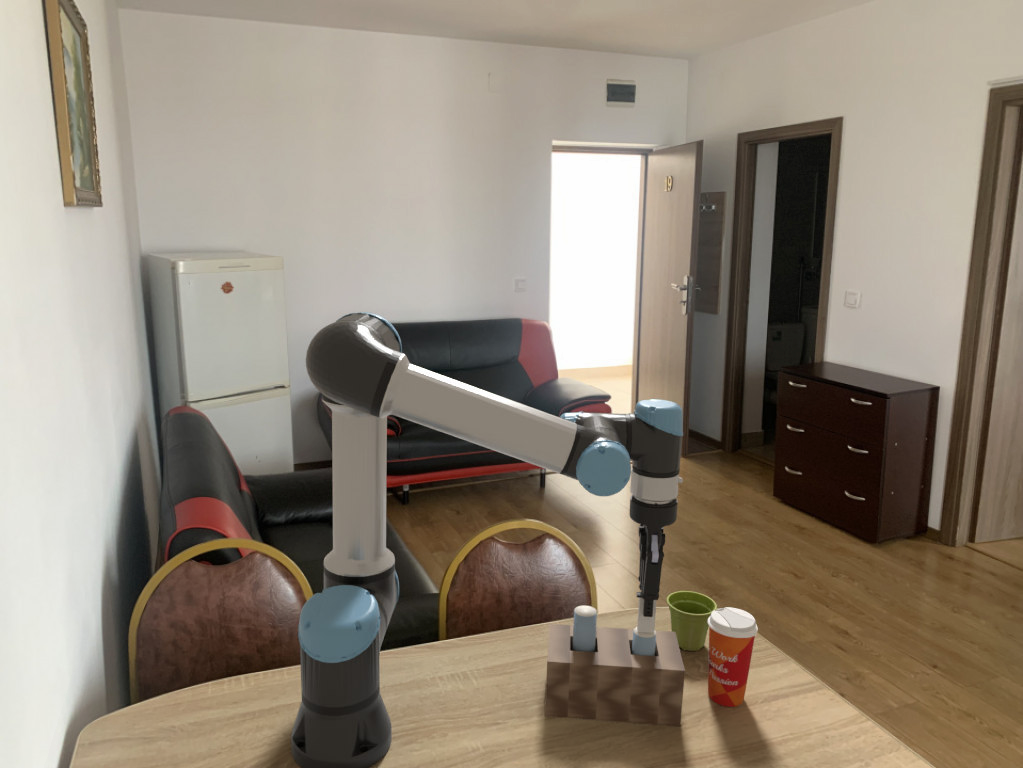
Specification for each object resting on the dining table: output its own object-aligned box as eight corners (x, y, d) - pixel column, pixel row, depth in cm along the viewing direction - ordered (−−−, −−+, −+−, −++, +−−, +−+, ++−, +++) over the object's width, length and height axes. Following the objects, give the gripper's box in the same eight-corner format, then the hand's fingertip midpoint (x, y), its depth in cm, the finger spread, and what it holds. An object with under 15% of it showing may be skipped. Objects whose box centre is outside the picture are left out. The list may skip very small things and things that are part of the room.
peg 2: (630, 691, 130) (634, 636, 128) (629, 678, 133) (632, 625, 131) (653, 693, 129) (657, 638, 127) (651, 679, 133) (655, 626, 131)
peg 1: (571, 670, 130) (574, 615, 128) (571, 658, 134) (574, 604, 131) (594, 672, 130) (597, 617, 127) (593, 659, 133) (596, 606, 131)
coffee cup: (691, 689, 136) (698, 611, 133) (727, 678, 139) (734, 601, 136) (724, 717, 128) (732, 634, 125) (761, 704, 132) (770, 623, 129)
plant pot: (704, 630, 156) (707, 590, 154) (719, 656, 147) (723, 614, 145) (658, 630, 155) (661, 590, 153) (670, 656, 146) (674, 614, 144)
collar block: (544, 716, 127) (547, 661, 125) (547, 674, 139) (549, 623, 137) (680, 726, 126) (684, 670, 124) (671, 683, 138) (675, 631, 135)
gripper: (683, 512, 118) (673, 652, 123) (672, 483, 130) (663, 612, 135) (633, 509, 118) (625, 650, 123) (627, 481, 131) (620, 609, 136)
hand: (645, 630), depth 129 cm, fingers closed
